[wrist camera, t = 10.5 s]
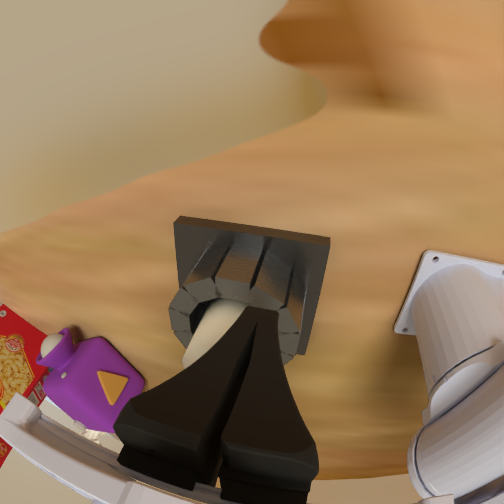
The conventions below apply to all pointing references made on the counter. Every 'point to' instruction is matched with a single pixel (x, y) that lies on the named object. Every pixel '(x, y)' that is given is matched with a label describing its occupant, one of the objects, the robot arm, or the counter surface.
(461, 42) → the counter surface
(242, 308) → the plug
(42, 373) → the food packaging
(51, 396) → the toy camera
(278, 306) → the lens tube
